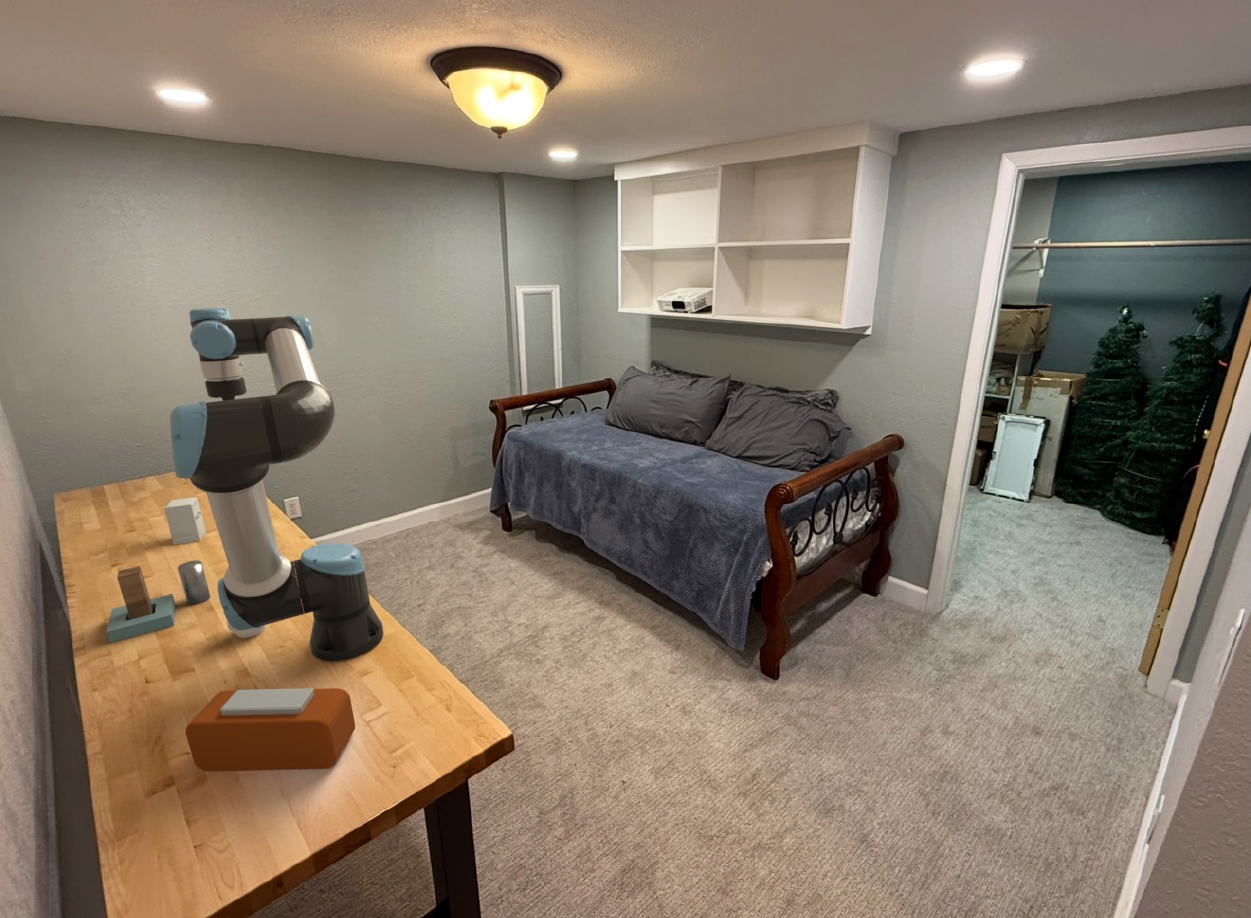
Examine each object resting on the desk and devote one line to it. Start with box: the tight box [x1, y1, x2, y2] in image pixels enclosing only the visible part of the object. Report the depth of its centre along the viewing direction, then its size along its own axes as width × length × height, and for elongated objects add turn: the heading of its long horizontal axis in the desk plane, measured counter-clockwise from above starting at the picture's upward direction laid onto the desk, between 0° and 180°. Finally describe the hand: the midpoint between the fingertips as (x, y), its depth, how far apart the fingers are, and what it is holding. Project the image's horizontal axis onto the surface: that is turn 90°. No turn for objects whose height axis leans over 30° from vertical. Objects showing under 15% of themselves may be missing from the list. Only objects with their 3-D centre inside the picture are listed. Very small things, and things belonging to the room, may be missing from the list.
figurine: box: [226, 620, 267, 639], centre depth 138 cm, size 7×8×12 cm
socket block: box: [105, 593, 176, 644], centre depth 143 cm, size 12×12×3 cm
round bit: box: [177, 559, 211, 606], centre depth 152 cm, size 5×5×10 cm
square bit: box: [116, 565, 154, 620], centre depth 142 cm, size 4×4×14 cm
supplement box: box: [163, 496, 207, 546], centre depth 188 cm, size 7×7×13 cm
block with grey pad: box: [184, 687, 356, 772], centre depth 103 cm, size 24×8×11 cm, turn 91°
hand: (244, 466), depth 141 cm, fingers open, 13 cm apart
